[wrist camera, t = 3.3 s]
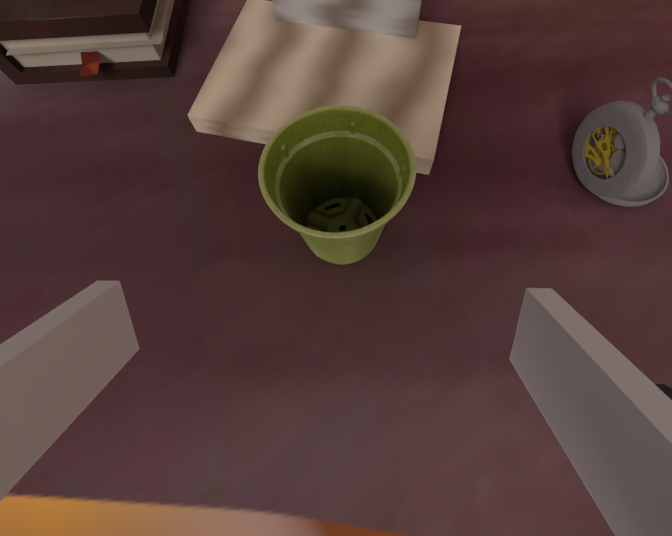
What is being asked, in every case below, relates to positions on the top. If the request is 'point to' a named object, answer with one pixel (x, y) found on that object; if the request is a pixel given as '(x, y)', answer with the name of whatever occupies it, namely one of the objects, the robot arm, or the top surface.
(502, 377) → the top surface
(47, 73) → the decorative book
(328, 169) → the plant pot
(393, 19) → the shelf board
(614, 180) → the pocket watch
